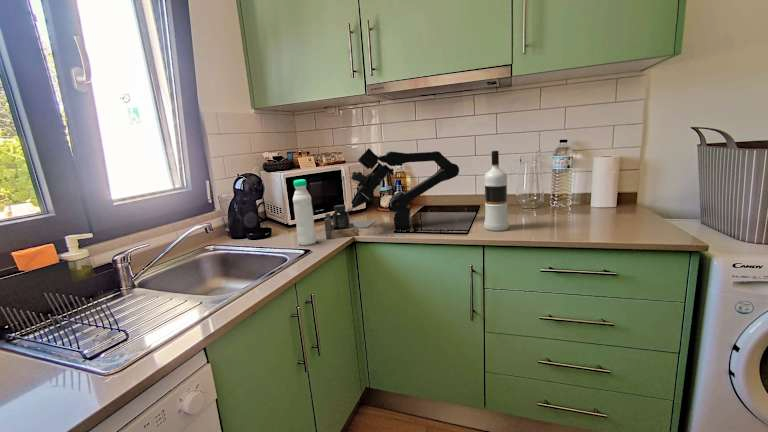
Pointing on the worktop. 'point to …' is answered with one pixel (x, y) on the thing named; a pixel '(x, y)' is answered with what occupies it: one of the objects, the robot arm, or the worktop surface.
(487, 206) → the vodka
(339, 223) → the supplement bottle
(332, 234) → the bracket holder
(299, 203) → the milk bottle
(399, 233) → the worktop surface
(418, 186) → the robot arm
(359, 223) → the slate mat
